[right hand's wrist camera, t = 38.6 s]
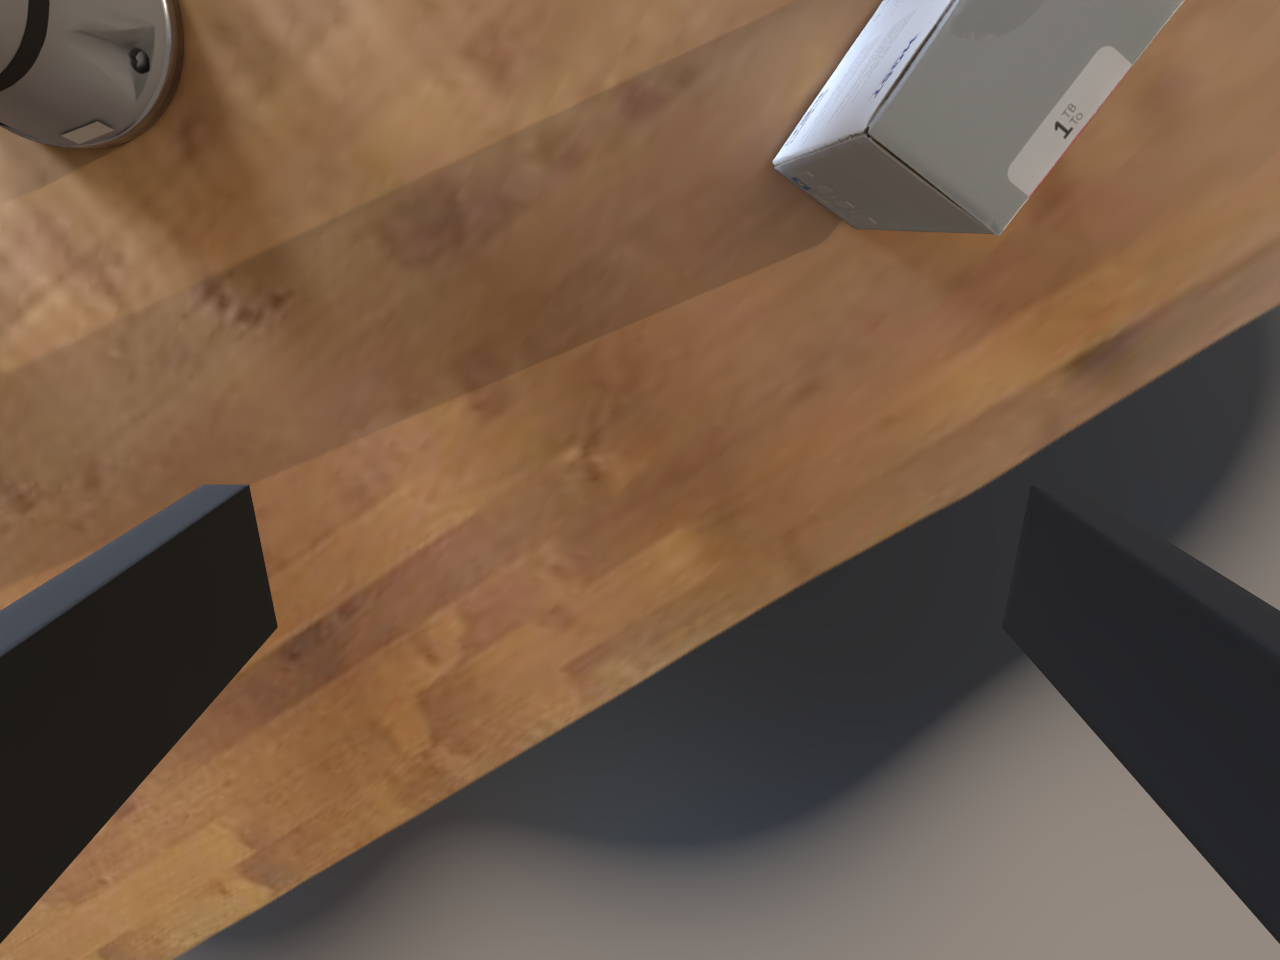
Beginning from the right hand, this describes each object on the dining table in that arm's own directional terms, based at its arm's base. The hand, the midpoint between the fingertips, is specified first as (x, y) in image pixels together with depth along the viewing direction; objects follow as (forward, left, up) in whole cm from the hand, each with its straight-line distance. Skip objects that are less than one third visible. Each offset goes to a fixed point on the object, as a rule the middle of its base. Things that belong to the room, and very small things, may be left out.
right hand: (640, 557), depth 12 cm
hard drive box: (-7, +19, -41) cm, 46 cm away
